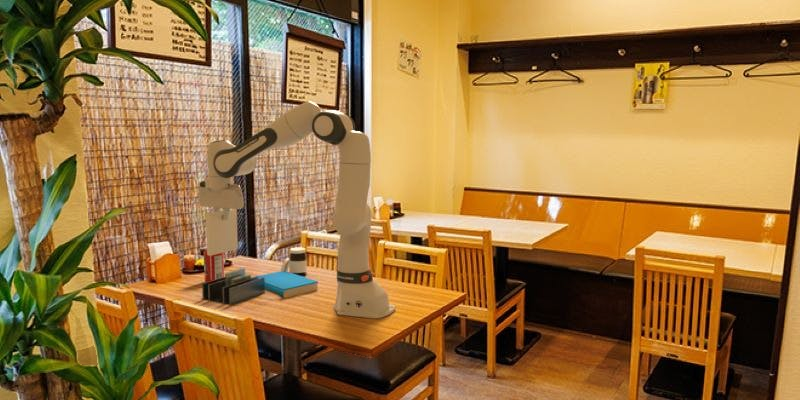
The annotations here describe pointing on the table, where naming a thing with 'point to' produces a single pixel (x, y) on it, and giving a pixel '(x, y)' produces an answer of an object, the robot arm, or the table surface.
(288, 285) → the book
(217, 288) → the rack
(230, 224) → the tall sheet
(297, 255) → the striped mug
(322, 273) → the table surface
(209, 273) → the soda can
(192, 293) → the table surface
